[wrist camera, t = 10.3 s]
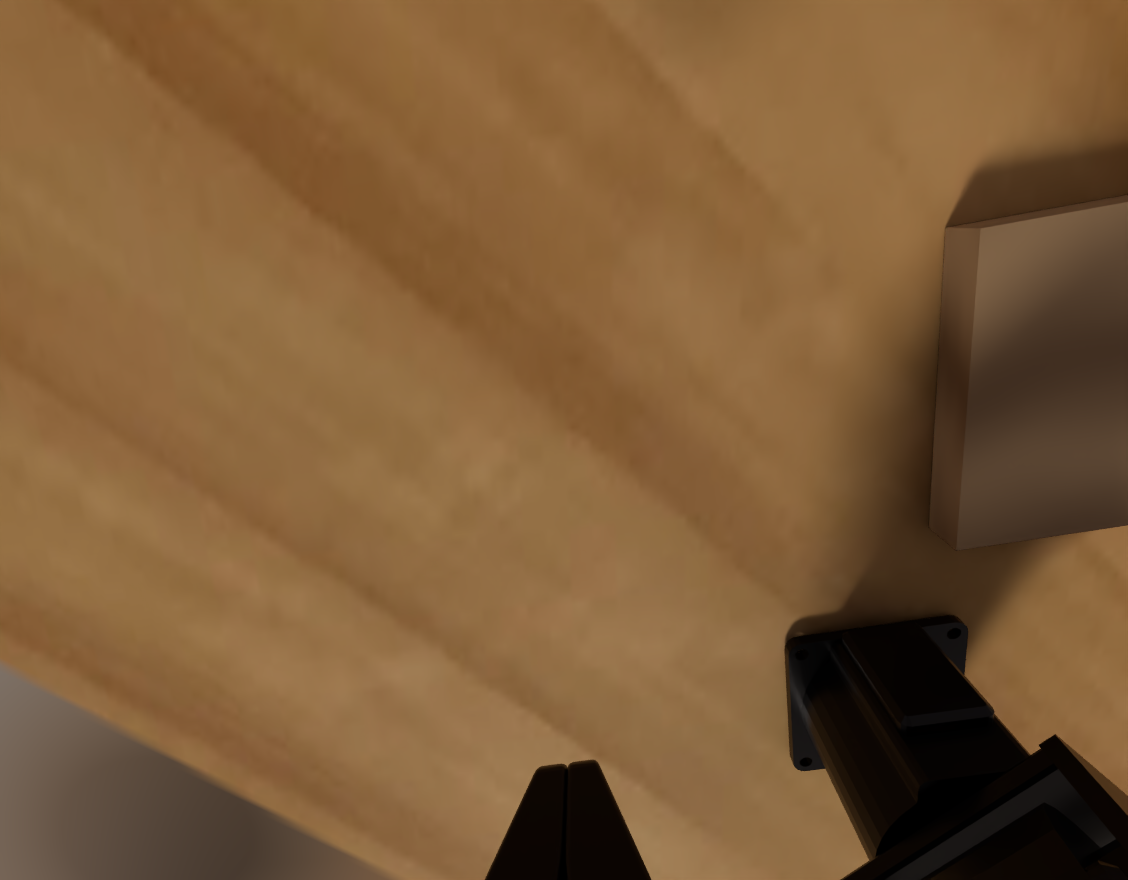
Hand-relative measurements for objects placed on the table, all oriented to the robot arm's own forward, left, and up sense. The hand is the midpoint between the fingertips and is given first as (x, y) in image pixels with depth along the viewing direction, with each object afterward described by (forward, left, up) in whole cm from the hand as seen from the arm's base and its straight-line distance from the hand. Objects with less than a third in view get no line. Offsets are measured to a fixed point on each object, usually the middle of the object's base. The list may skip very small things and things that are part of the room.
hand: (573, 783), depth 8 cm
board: (0, -19, -12) cm, 22 cm away
